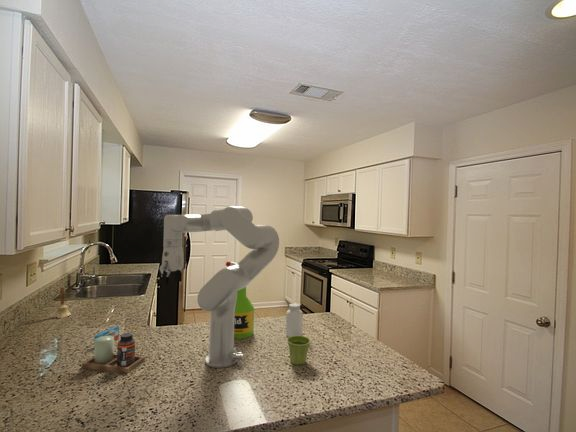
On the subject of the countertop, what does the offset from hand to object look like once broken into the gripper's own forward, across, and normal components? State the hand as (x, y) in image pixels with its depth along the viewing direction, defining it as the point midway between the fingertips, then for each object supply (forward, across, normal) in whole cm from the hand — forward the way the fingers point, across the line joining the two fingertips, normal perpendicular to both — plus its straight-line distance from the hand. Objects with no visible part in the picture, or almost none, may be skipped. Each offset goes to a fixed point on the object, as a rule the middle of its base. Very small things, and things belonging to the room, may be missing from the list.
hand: (172, 283), depth 133 cm
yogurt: (+29, -1, +30) cm, 41 cm away
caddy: (+28, -18, +12) cm, 36 cm away
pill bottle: (+28, +28, -49) cm, 63 cm away
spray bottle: (+28, +25, -20) cm, 43 cm away
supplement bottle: (+28, -18, +8) cm, 34 cm away
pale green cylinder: (+27, -18, +17) cm, 37 cm away
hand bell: (+29, +27, +82) cm, 91 cm away
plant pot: (+28, +1, -55) cm, 62 cm away
